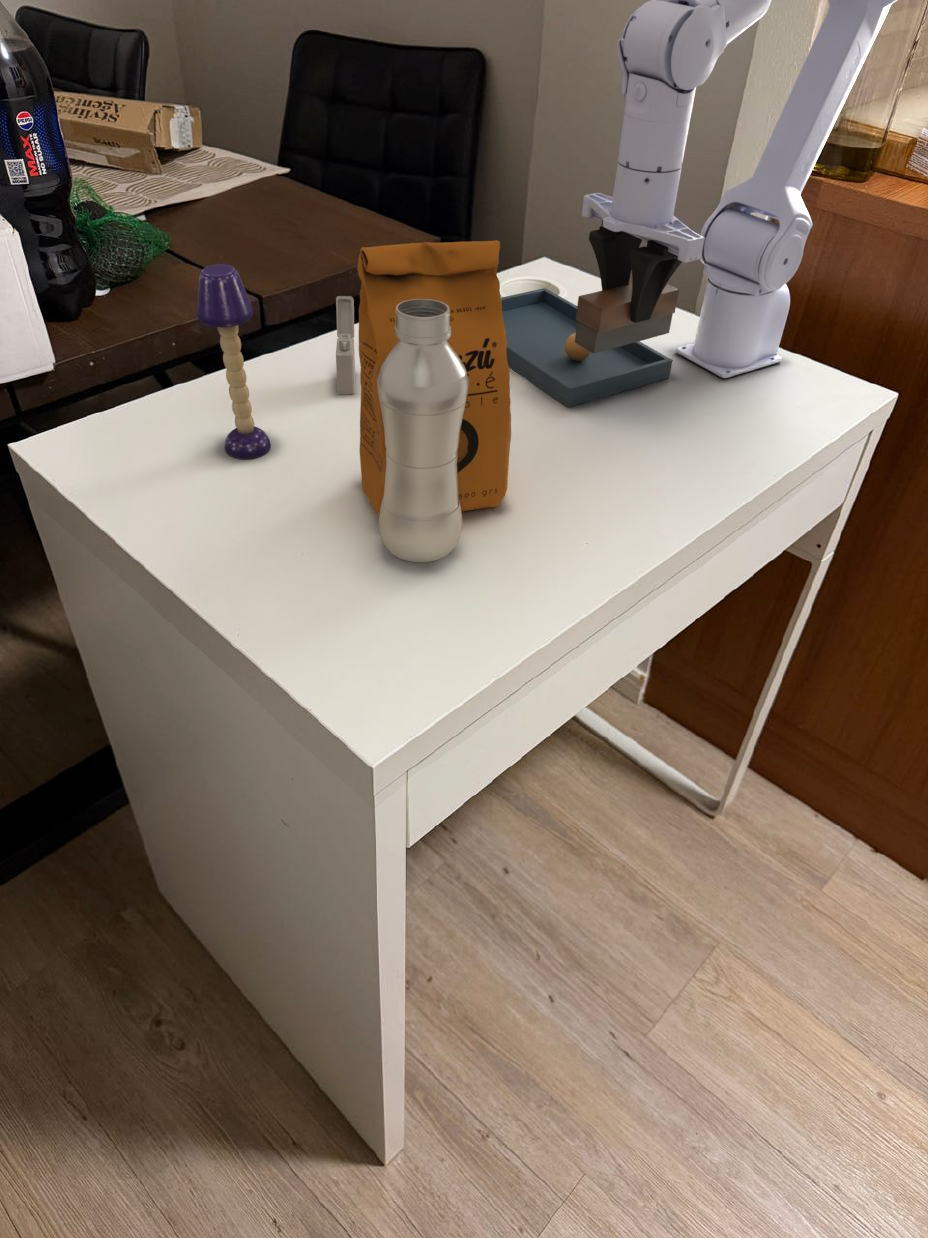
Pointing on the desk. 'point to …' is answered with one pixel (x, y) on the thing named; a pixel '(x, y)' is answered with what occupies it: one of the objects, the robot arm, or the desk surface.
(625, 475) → the desk surface
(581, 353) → the wooden bead
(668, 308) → the brush
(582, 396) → the tray
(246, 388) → the toy lamp
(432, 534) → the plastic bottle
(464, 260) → the coffee package
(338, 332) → the lighter
